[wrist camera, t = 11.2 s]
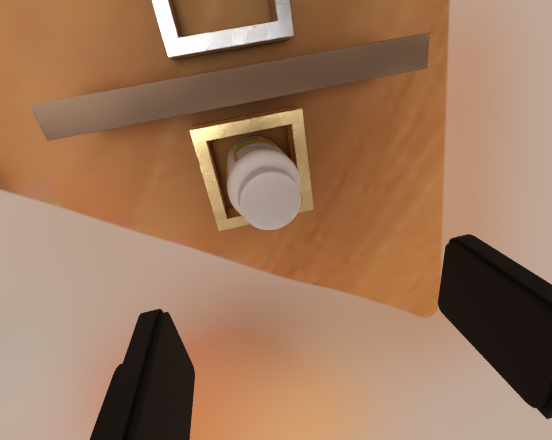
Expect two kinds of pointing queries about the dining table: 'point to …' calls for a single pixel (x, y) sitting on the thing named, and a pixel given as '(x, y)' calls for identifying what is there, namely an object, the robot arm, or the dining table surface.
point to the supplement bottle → (262, 183)
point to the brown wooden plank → (229, 87)
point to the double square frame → (203, 133)
